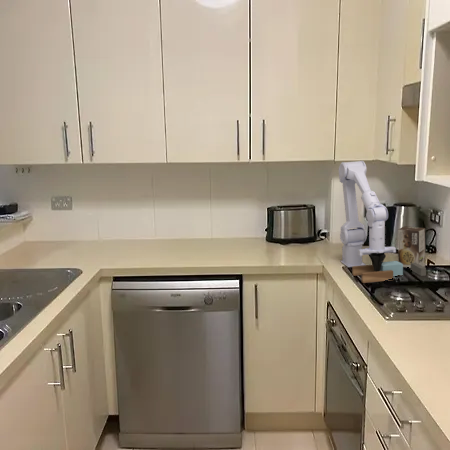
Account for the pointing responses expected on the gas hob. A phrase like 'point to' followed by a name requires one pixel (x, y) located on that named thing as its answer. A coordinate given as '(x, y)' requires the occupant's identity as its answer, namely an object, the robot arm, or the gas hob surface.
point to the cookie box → (411, 246)
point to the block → (392, 267)
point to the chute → (371, 273)
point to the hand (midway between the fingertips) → (376, 271)
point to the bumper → (418, 269)
